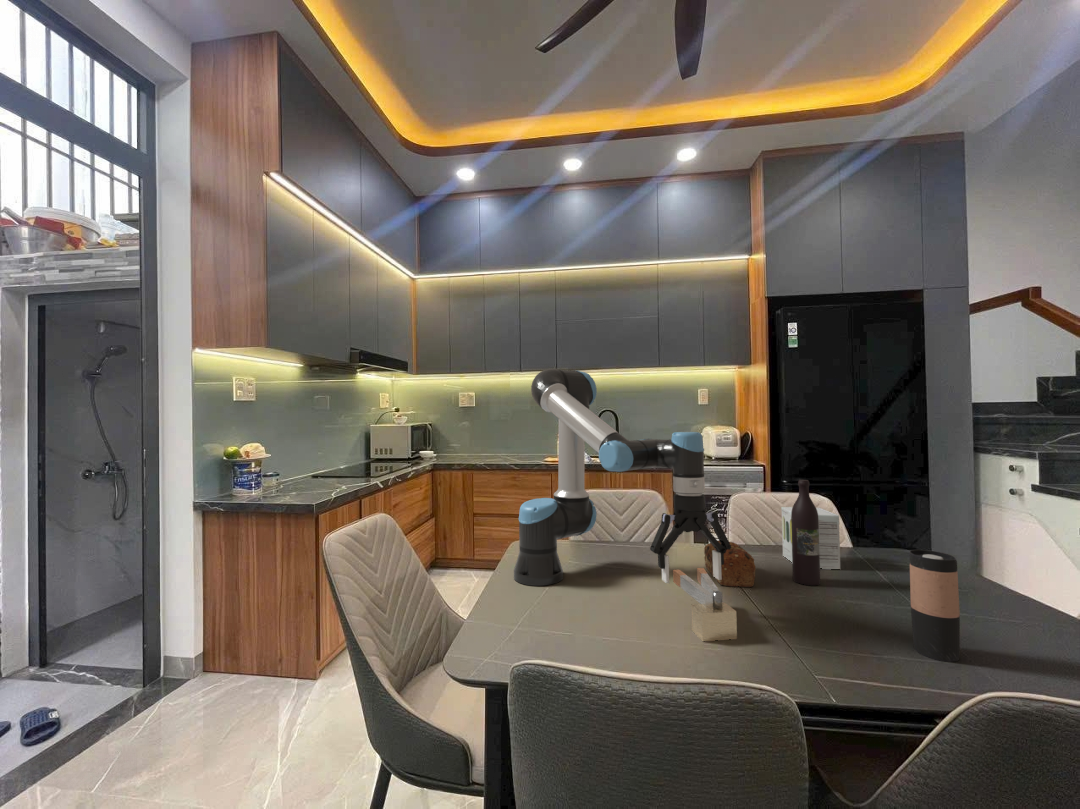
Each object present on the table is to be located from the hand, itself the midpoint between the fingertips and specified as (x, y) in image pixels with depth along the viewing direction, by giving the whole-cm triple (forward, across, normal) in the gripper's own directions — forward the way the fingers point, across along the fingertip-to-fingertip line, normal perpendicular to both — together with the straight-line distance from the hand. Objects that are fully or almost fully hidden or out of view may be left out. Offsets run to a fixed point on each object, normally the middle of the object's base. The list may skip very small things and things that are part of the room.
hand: (691, 579), depth 113 cm
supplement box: (+9, +58, +32) cm, 67 cm away
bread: (+9, +24, +24) cm, 35 cm away
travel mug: (+9, +41, -25) cm, 49 cm away
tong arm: (+2, +3, -3) cm, 5 cm away
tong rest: (+9, 0, -3) cm, 9 cm away
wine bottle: (+9, +44, +16) cm, 48 cm away
